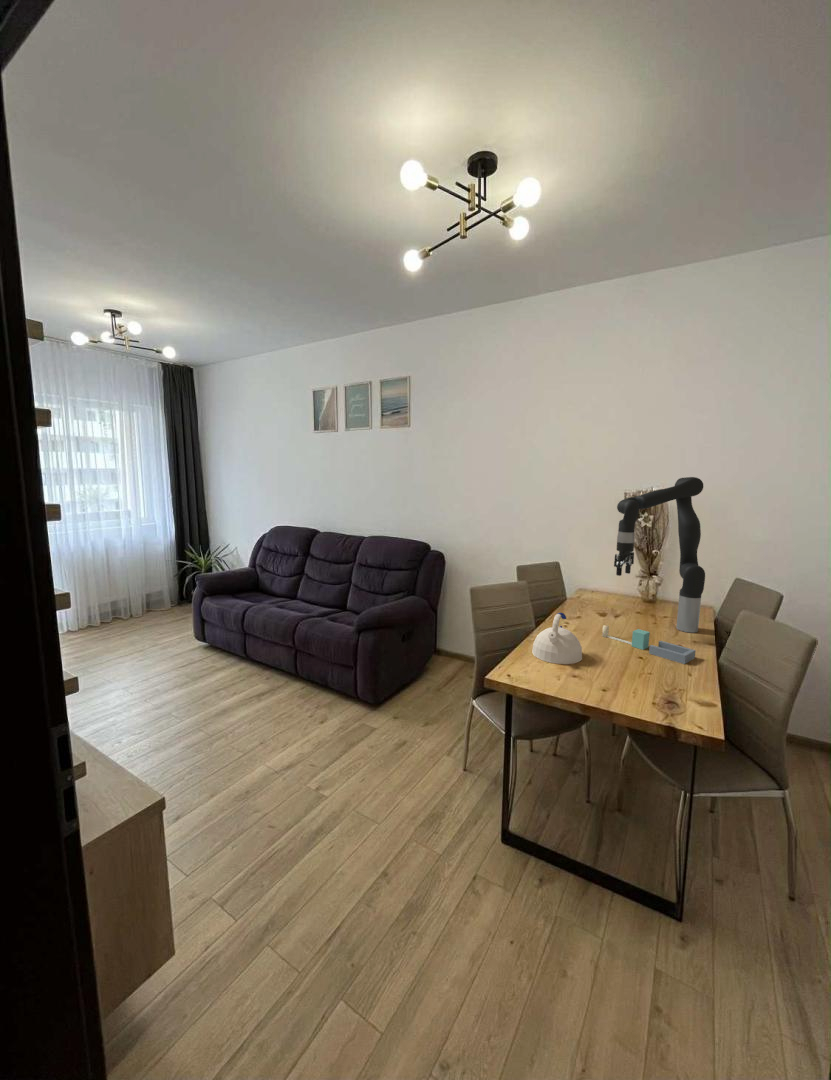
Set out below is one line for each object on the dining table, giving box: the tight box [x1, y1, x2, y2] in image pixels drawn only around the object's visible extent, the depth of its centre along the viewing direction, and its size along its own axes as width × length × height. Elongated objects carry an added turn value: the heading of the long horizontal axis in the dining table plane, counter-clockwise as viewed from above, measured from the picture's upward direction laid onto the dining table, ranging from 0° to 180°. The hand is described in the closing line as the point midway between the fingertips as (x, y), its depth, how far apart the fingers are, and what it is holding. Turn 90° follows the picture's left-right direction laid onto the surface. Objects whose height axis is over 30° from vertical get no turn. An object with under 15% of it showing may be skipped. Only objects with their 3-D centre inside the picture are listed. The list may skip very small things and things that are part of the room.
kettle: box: [531, 612, 583, 665], centre depth 187 cm, size 20×21×18 cm
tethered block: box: [601, 624, 651, 651], centre depth 204 cm, size 5×20×7 cm, turn 37°
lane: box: [648, 640, 696, 665], centre depth 188 cm, size 10×14×4 cm
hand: (623, 574), depth 216 cm, fingers open, 8 cm apart
